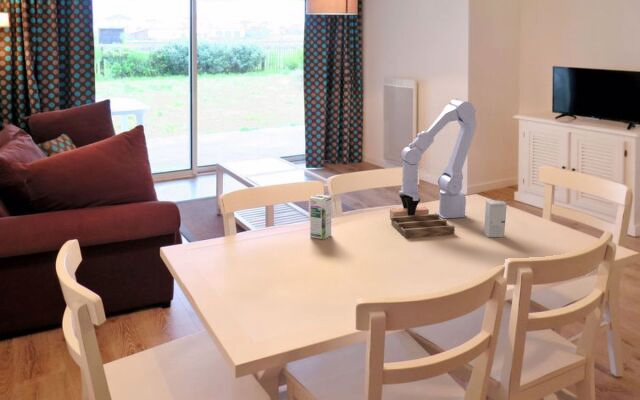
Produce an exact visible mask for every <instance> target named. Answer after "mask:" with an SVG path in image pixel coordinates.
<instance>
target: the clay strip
mask: <svg viewBox="0 0 640 400" xmlns="http://www.w3.org/2000/svg"><path fill="white" fill-rule="evenodd" d="M429 212H430V211H429V208H428V207H426V206H417V208H416V211H415V215H427V214H430V213H429ZM399 216H408V211H407V208H403V207H402V208H401V207H399V208H390V209H389V219H390V220H392V217H399Z"/></svg>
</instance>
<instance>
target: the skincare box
mask: <svg viewBox="0 0 640 400" xmlns="http://www.w3.org/2000/svg"><path fill="white" fill-rule="evenodd" d="M507 206H508V205H507V202H505V201H503V200H486V202H485V211H484V213H485V214H484V227H483V234H484V235H485V236H486V237H487V238H503V237H505V232H506V231H505V229H506V216H507V208H508V207H507Z"/></svg>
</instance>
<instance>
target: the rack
mask: <svg viewBox="0 0 640 400" xmlns="http://www.w3.org/2000/svg"><path fill="white" fill-rule="evenodd" d="M390 220H391V219H390ZM391 226H392V227H393V228H394V229H396V230H397V232H398V233H400V234H401V236H403V237H404V238H405V239H411V238H413V239H414V238H423V237H424V238H425V237H437V236H449V235H455V225H453V224H452V225H450V224H449V223H448V222H447V218H441V217H440V216H439V214H436V213H429V214H427V215H413V216H399V217H392V220H391Z"/></svg>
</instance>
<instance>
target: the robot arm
mask: <svg viewBox="0 0 640 400" xmlns="http://www.w3.org/2000/svg"><path fill="white" fill-rule="evenodd" d="M476 111H477V109H476V108H475V107H474V105H473V104H472V103H471V102H470V101H466V100H465V101H464V100H462V99H459V98H454V99H452V100H451V101H450V102H449V104H447V105H446V106H445V107H444V109H443V110H442V111H441V113H440V115H439V116H438V117H437V118H436V119H435V120H434V122H433V123H432V124H431V126H429V128H428V129H427V130H424V131H421V132H418V133H417V134H416V138H414V140H413V141H412V142H411V143H409V144H408V146H407V147H404V148H403V149H402V151H401V153H400V158H401V160H402V180H401V181H402V185H401V186H400V190H398V196H399V198H400V200H401V204H402V208H407V211H408V216H413V215H415V211H416V208H417V207H418V205H419V203H420V202H421V198H420V195H419V191H418V187H419V186H418V183H419V179H418V178H419V162H420V161H421V160H422V155H423V154H424V153H425V152H426V151H427V150H428V149H429V148H430V146H431V145H432V144H433V143H434V142H435V141H434V138H435V136H437V135H438V134H439V132H441V130H442V129H444V127H445V126H447V125H448V124H449V123H450V122H456V121H457V123H458V124H459V126H460V128H459V131H458V134H457V138H456V140H455V143H454V146H453V149H452V153H451V156H450V159H449V162H448V164H447V166H446V167H445V168H444V169H443V171H442V173H441V174H440V175H439V177H438V179H437V184H438V185H437V186H438V187H439V188H440V191H439V210H438V211H435V212H434V214H439V218H441V219H454V218H466V217H467V216H466V204H467V203H466V202H467V201H466V200H467V199H466V195H465V193H464V192H461V191H462V189H463V179H464V175H463V171H462V170H463V168H464V165H465V161H466V158H467V156H468V152H469V149H470V146H471V144H472V141H473V137H474V134H475V131H476V128H477V118H476Z"/></svg>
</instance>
